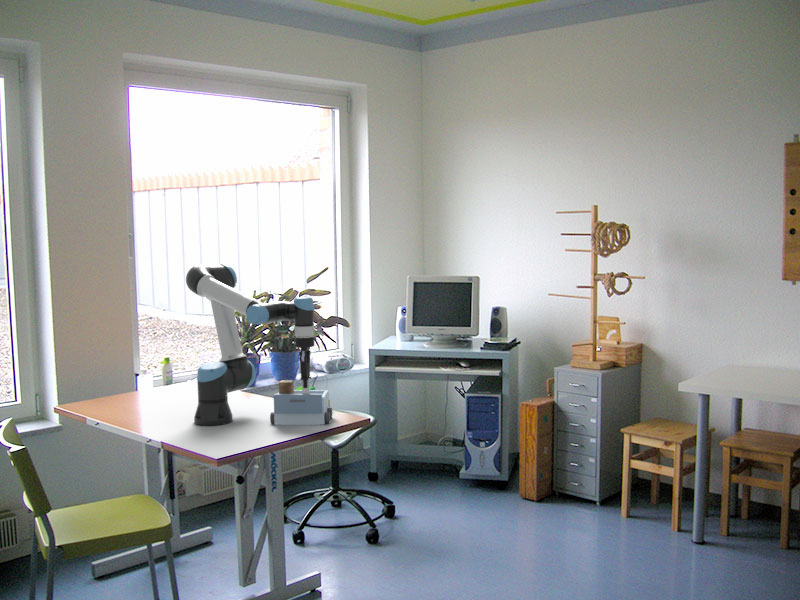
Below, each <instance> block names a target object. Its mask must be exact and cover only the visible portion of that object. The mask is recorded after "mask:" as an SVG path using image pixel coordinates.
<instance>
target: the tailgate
mask: <svg viewBox="0 0 800 600" xmlns="http://www.w3.org/2000/svg"><path fill="white" fill-rule="evenodd" d="M272 397H273V412H275V414H322V413H323V407H322V394H278V393H274V394H273V396H272Z"/></svg>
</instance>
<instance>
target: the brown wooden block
mask: <svg viewBox="0 0 800 600" xmlns="http://www.w3.org/2000/svg"><path fill="white" fill-rule="evenodd" d="M294 390H295V389H294V379H293V380H292V379H281V380H280V381H278V393H279V394H294Z"/></svg>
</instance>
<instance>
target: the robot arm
mask: <svg viewBox="0 0 800 600" xmlns="http://www.w3.org/2000/svg"><path fill="white" fill-rule="evenodd" d="M237 278H238V277H237V274H236V271H235V270H234V268H233V267H231V266H230V265H229V264H225V263H208V264H197V265H193V266H192V267H191V268H190V269H189V270H188V271H187V273H186V277H185V283H186V286H187V288H188V289H189V290H190V291H191V292H192V293H194V294H195V295H198V296H199V297H202V298H205V299H207V300H208V301H210V304H211V311H212V315H213V320H214V325H215V329H216V334H217V339H218V344H219V349H220V354H221V358H220V359H219V361H218V362H216V361H215V362H210V363H205V364H202V365H201V366H199V367H198V369H197V376H196V379H197V380H196V381H197V401H198V402H197V406H196V410H195V414H194V417H193V419H194V424H196V425H198V426H206V427H209V426H210V427H211V426H213V427H214V426H220V425H221V426H222V425H226V424H228V423H229V424H230V423H231V422H233V420H234V419H233V413H232V410H231V407H230V404H229V402H228V401H229V400H228V393H232V392H233V393H234V392H236V391H242V390H244V389H247V388H249V387H251V386H252V385H253V383H254V382H255V379H256V375H257V372H256V368H255V365H254V364H253V362H251V361H250V360H248V357H247V355H246V354H244V353H243V348H242V345H241V340H240V336H239V329H238V325H237V324H238V323H237V320H236V315H235V312H237V313H239V314H241V315H243V316H245V317H246V320H247V321H248V322H249V323H250V324H252V325H264V324H267V323H270V324H271V323H275V322H282V321H289V322H290V321H291V322H294V336H295V338H294V345H295V347H296V348H300V351H299V352H298V353H299V354H298V355H299V364H300V377H299V380H300V381H301V384H302V385H301V386H302V394H310V389H309V387H310V379H311V380H312V376H311V350H310V348H312V347H314V346H315V337H314V335H315V331H316V327H315V326H314V325H315V324H314V323H315V320H314V319H315V318H314V316H315V315H314V312H315V307H314V301H313V300H314V299H313V298H312V297H310V296H299V297H298V296H297V297H294V298H293V301H283V300H275V301H272V302H268V303H263V302H262V301H259V300H258V299H255V298H254V297H251V296H249V295H248V294H245V293H243V292H241V291H239V290H237V289H236V288H235V287H236V286H237V283H238V279H237Z"/></svg>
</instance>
